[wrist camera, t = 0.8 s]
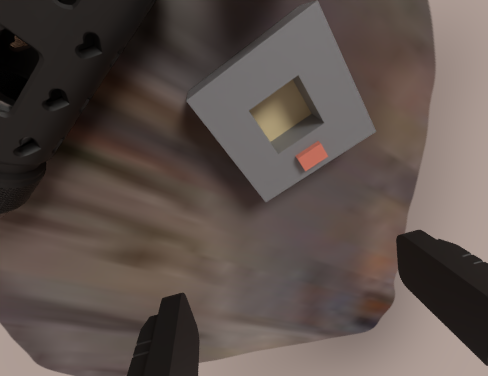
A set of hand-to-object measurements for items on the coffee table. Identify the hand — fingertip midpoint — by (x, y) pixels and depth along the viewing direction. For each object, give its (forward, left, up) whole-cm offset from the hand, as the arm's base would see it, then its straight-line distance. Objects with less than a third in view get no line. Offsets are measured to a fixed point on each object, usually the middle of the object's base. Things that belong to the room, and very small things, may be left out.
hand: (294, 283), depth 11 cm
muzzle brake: (-14, -11, -26) cm, 31 cm away
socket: (+2, +5, -25) cm, 26 cm away
